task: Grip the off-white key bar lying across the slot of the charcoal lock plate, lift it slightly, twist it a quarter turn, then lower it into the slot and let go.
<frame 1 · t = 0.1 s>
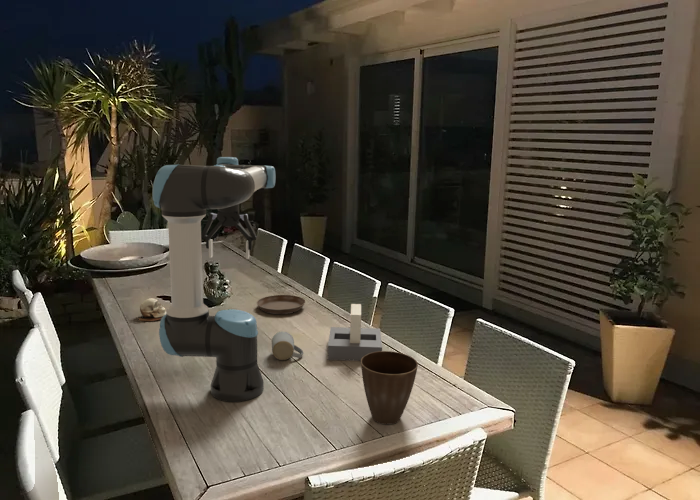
hand: (229, 257, 203), 28 cm above the table, tool pointing down, fingers open, 13 cm apart
plant saucer: (281, 309, 236), on the table
lock plate: (354, 350, 193), on the table
key bar: (355, 336, 192), point 5 cm above the table, touching lock plate
skull: (153, 317, 221), on the table
ceramic mug: (286, 356, 186), on the table
plant pot: (386, 418, 148), on the table
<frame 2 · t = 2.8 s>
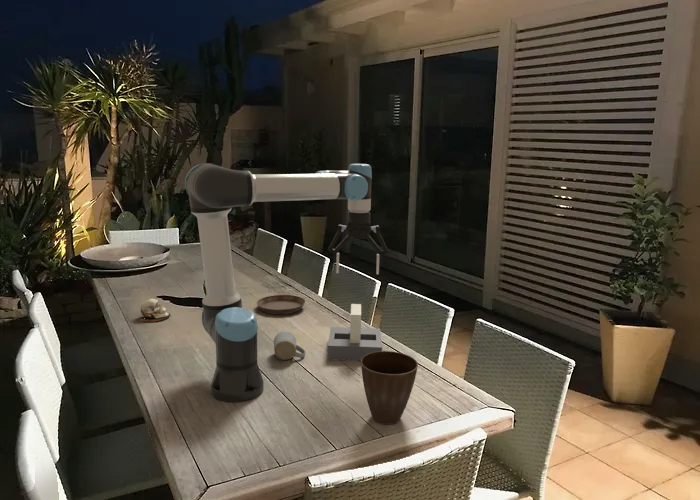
hand: (357, 273, 187), 28 cm above the table, tool pointing down, fingers open, 13 cm apart
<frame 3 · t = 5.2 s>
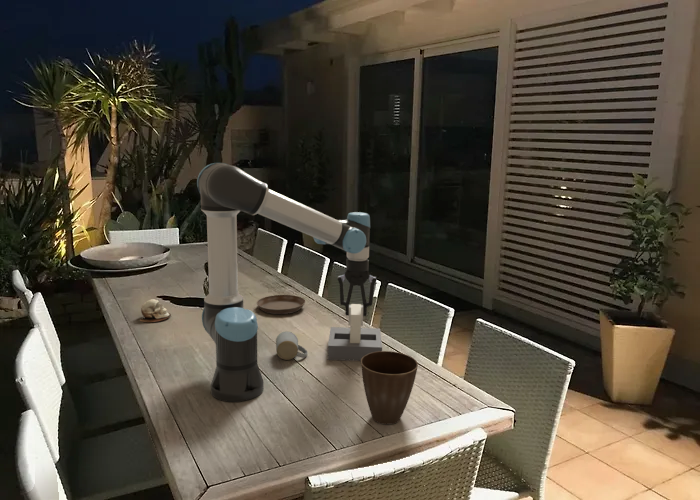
hand: (355, 324, 191), 10 cm above the table, tool pointing down, fingers closed on key bar, 3 cm apart
key bar: (355, 336, 192), point 5 cm above the table, touching gripper, lock plate
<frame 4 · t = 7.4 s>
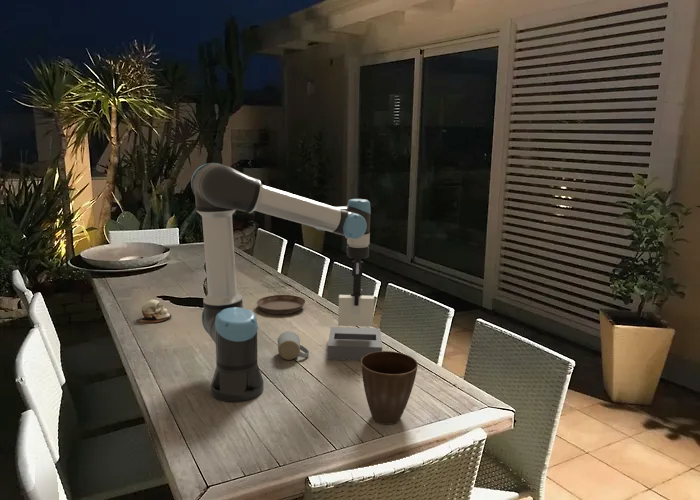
hand: (356, 311, 190), 14 cm above the table, tool pointing down, fingers closed on key bar, 3 cm apart
key bar: (355, 324, 191), point 10 cm above the table, touching gripper
when the fingers open (7 cm above the table, at t = 9.7 s): key bar drops 1 cm, resting on lock plate.
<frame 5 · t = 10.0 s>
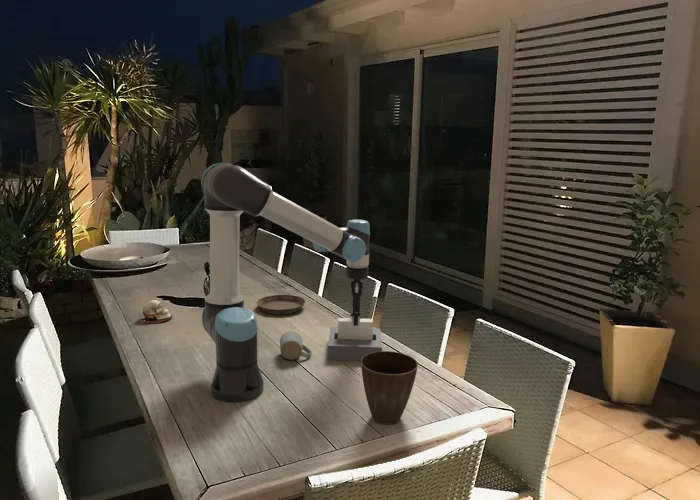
hand: (355, 329, 191), 8 cm above the table, tool pointing down, fingers open, 8 cm apart
key bar: (354, 347, 193), point 1 cm above the table, touching lock plate
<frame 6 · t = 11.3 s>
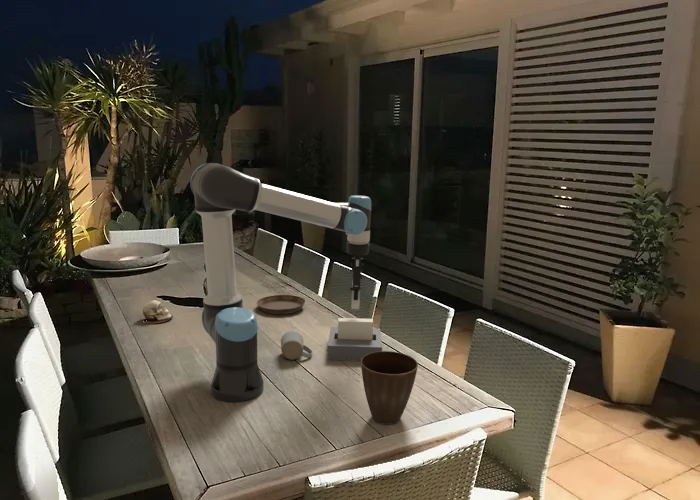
hand: (355, 302, 189), 17 cm above the table, tool pointing down, fingers open, 13 cm apart
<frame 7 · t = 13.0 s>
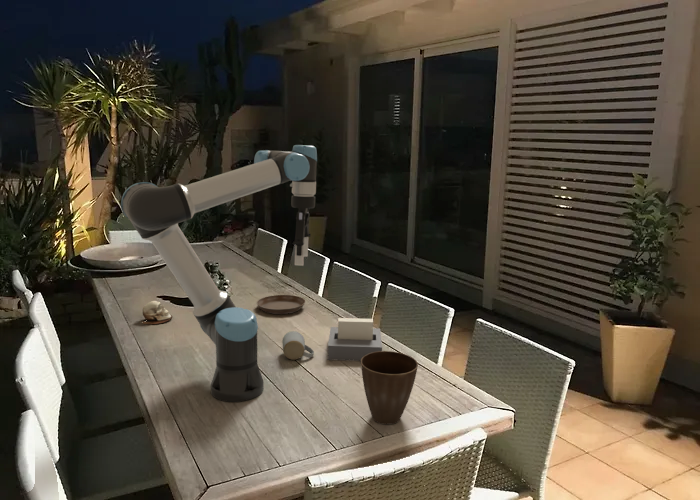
hand: (301, 260, 178), 34 cm above the table, tool pointing down, fingers open, 13 cm apart
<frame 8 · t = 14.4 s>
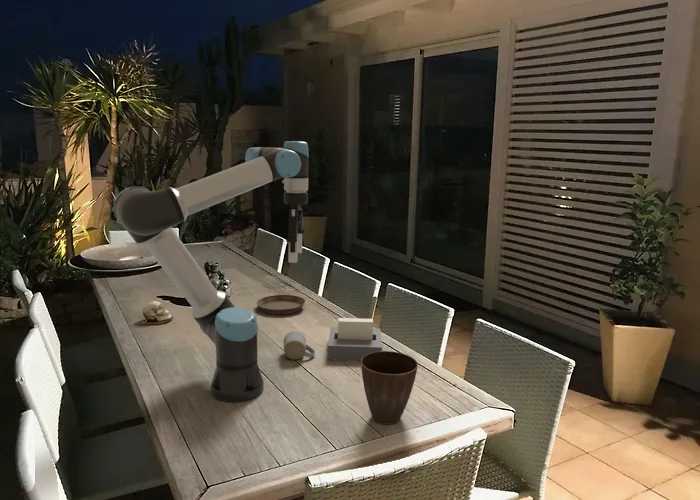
hand: (295, 257, 177), 35 cm above the table, tool pointing down, fingers open, 13 cm apart
at the end: key bar point 1.1 cm above the table; key bar 0.0 cm off-centre on the lock plate, point 1.1 cm above the lock plate's base; key bar tilted 0° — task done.
